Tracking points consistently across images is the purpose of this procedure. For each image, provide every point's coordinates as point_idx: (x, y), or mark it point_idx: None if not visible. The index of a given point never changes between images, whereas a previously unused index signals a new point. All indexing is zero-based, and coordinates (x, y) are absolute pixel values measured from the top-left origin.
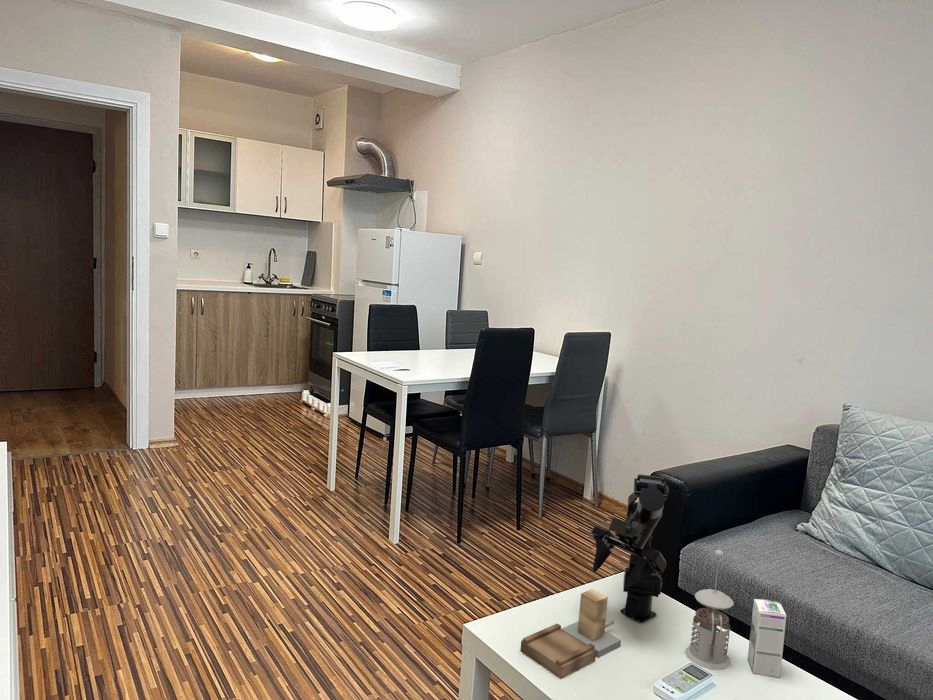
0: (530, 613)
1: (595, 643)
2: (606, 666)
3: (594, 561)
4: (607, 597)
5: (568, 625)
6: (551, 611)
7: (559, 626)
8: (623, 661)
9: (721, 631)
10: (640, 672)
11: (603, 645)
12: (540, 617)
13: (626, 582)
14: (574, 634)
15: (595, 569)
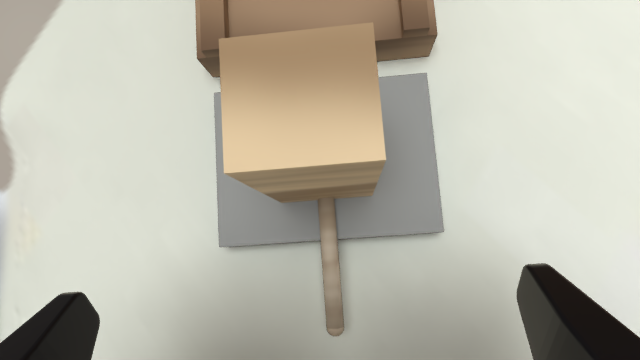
0: (635, 82)
1: None
2: (167, 90)
3: (630, 335)
4: (224, 169)
5: (431, 120)
6: (606, 183)
7: (403, 19)
8: (152, 172)
9: None
10: (72, 174)
11: None
12: (583, 100)
13: (47, 317)
14: None
15: (528, 296)
